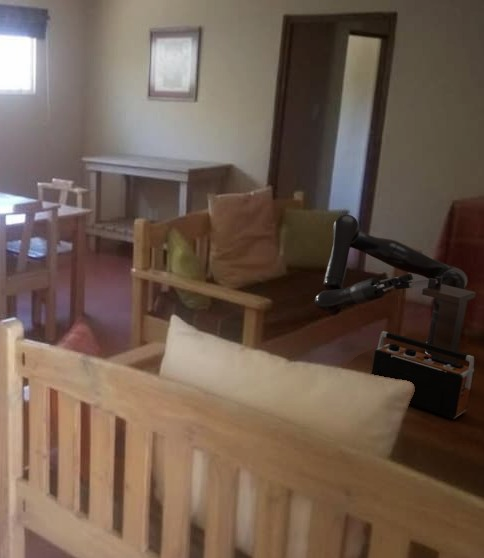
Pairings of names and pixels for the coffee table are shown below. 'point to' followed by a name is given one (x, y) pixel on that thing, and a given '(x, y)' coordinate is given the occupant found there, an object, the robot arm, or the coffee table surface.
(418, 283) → the lever
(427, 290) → the stand
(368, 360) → the coffee table surface
